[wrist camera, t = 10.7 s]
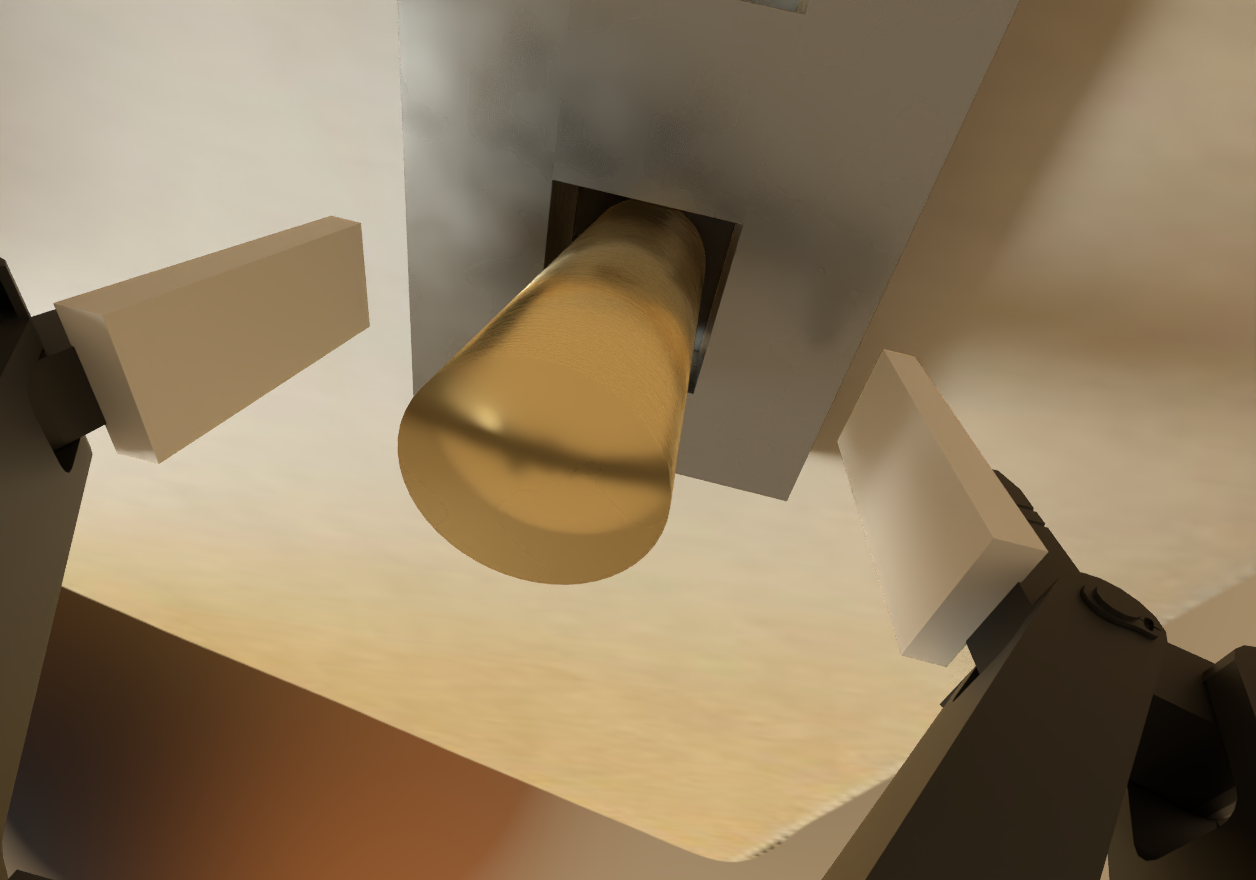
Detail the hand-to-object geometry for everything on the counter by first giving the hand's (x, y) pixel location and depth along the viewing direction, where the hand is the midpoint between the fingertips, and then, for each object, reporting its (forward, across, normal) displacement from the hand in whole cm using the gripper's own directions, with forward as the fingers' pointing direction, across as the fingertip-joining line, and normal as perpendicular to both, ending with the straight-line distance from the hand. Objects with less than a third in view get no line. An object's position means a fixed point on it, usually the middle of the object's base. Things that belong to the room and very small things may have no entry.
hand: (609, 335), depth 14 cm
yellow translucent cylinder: (+7, 0, 0) cm, 7 cm away
